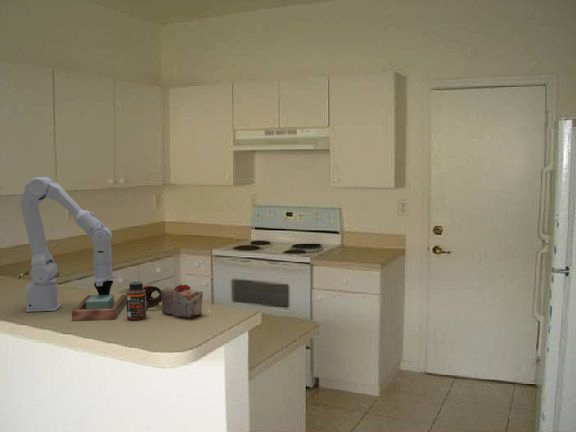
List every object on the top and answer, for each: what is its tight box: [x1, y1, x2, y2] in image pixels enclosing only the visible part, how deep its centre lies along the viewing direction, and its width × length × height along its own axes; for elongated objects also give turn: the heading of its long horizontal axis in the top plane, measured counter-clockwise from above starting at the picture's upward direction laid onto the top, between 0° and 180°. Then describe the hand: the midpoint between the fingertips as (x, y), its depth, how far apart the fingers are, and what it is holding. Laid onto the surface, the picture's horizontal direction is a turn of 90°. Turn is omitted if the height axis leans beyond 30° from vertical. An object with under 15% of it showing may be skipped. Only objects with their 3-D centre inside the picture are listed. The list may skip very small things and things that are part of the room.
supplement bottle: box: [125, 281, 147, 321], centre depth 181 cm, size 6×6×11 cm
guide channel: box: [71, 293, 127, 322], centre depth 190 cm, size 13×22×3 cm, turn 6°
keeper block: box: [86, 294, 115, 310], centre depth 190 cm, size 7×9×4 cm
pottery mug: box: [143, 285, 162, 311], centre depth 195 cm, size 12×10×8 cm
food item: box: [161, 283, 203, 319], centre depth 185 cm, size 14×8×10 cm, turn 57°
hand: (104, 302), depth 196 cm, fingers closed
